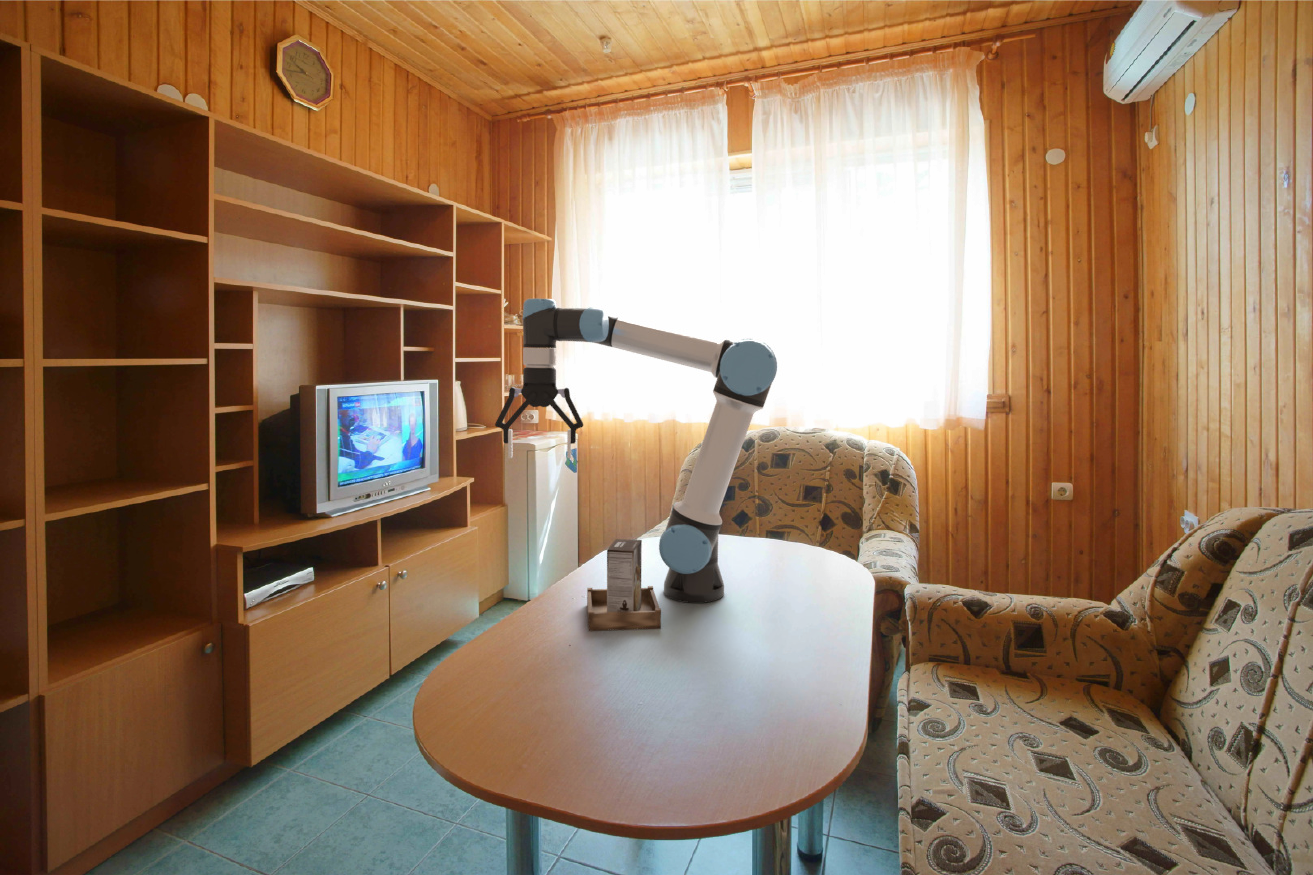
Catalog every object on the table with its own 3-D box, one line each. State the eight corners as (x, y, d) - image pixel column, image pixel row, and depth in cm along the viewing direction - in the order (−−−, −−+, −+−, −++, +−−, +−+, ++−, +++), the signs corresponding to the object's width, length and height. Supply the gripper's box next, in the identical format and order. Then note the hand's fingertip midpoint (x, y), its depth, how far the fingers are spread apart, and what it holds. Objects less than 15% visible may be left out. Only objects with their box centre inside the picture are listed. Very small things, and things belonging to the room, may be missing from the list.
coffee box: (614, 604, 160) (615, 538, 158) (641, 606, 159) (642, 539, 157) (606, 619, 151) (606, 548, 149) (634, 621, 150) (635, 550, 148)
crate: (652, 602, 163) (652, 585, 163) (660, 628, 148) (660, 609, 147) (587, 604, 161) (587, 587, 161) (588, 631, 146) (588, 612, 145)
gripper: (593, 367, 163) (592, 455, 165) (486, 365, 160) (487, 455, 162) (594, 367, 155) (593, 459, 158) (482, 366, 152) (483, 459, 155)
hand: (539, 457), depth 160 cm, fingers open, 13 cm apart
